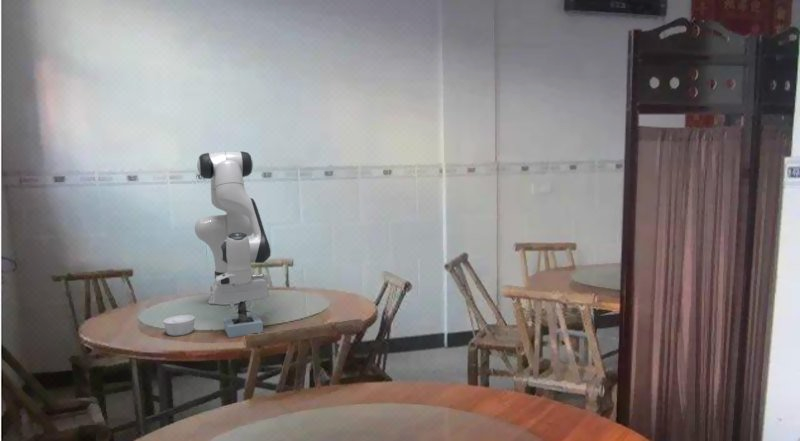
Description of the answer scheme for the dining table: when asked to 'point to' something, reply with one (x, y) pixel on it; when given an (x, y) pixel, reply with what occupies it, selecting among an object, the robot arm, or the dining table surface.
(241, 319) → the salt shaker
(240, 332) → the caddy block
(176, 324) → the ramekin
